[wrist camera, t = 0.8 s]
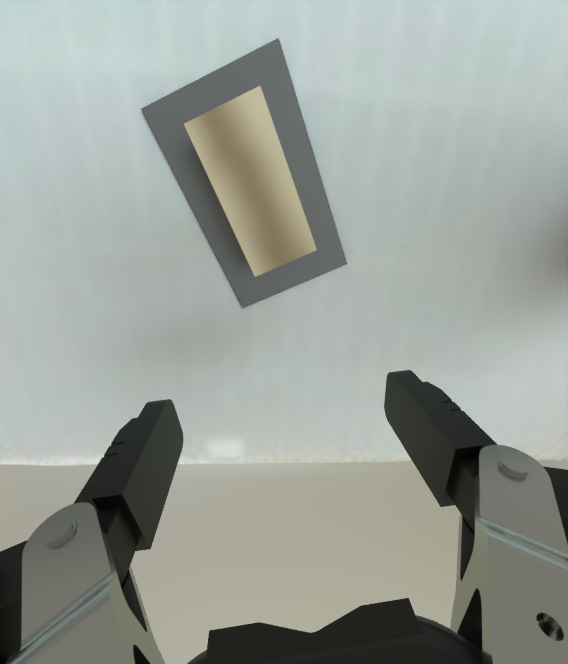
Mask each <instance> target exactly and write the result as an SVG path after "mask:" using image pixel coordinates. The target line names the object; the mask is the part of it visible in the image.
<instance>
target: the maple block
mask: <svg viewBox="0 0 568 664" xmlns="http://www.w3.org/2000/svg"><path fill="white" fill-rule="evenodd" d="M184 126H185V128H186V130H187V132H188V134H189V136H190V139H191V141H192V143H193V145H194V147H195V149H196V152H197V154H198V156H199V158H200V160H201V162H202V164H203V167H204V169H205V171H206V173H207V175H208V177H209V180H210V182H211V184H212V186H213V188H214V190H215V192H216V195H217V197H218V199H219V201H220V203H221V205H222V208H223V210H224V212H225V214H226V216H227V218H228V220H229V223H230V225H231V227H232V229H233V231H234V233H235V235H236V238H237V240H238V242H239V244H240V246H241V248H242V251H243V253H244V255H245V257H246V259H247V261H248V263H249V266H250V268H251V270H252V272H253V274H254V276H255V277H256V276H258V275H261V274H263V273H265V272H268V271H270V270H272V269H274V268H277V267H279V266H281V265H284V264H286V263H288V262H291V261H293V260H295V259H297V258H300V257H302V256H304V255H307V254H309V253H311V252H314V251H316V250H317V249H316V246H315V243H314V240H313V237H312V234H311V231H310V228H309V225H308V222H307V220H306V217H305V214H304V211H303V208H302V205H301V202H300V199H299V196H298V193H297V191H296V188H295V185H294V182H293V179H292V176H291V173H290V170H289V167H288V164H287V161H286V159H285V156H284V153H283V150H282V147H281V144H280V141H279V138H278V135H277V132H276V130H275V127H274V124H273V121H272V118H271V115H270V112H269V109H268V106H267V103H266V100H265V98H264V95H263V92H262V89H261V86H258V87H256V88H254V89H252V90H250V91H248V92H246V93H244V94H242V95H240V96H238V97H236V98H234V99H232V100H230V101H228V102H226V103H224V104H222V105H220V106H218V107H216V108H214V109H212V110H210V111H208V112H206V113H204V114H202V115H200V116H198V117H196V118H194V119H192V120H190V121H188V122H186V123H184Z"/></svg>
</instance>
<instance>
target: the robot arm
mask: <svg viewBox="0 0 568 664" xmlns="http://www.w3.org/2000/svg"><path fill="white" fill-rule="evenodd" d="M384 408H385V414H386V417H387V420H388V422H389V424H390V425H391V427H392V428H393V430H394V432H395V433H396V435H397V437H398V438H399V440H400V441H401V443H402V445H403V446H404V448H405V450H406V451H407V453H408V454H409V456H410V458H411V459H412V461H413V463H414V464H415V466H416V467H417V469H418V470H419V472H420V474H421V475H422V477H423V479H424V480H425V482H426V484H427V485H428V487H429V488H430V490H431V492H432V493H433V495H434V497H435V498H436V500H437V501H438V503H439V505H440V506H441V507H444V506H451V505H456V507H457V508H458V510H459V511H460V513H461V515H460V519H459V536H458V559H457V580H456V592H455V599H454V604H453V611H452V618H451V629H449V628H447V627H445V626H443V625H441V624H439V623H437V622H435V621H433V620H430V619H427V618H424V617H421V616H416V615H415V613H414V611H413V608H412V606H411V603H410V601H409V598H406V599H399V600H393V601H388V602H381V603H375V604H369V605H363V606H360V607H358V608H356V609H355V610H353V611H351V612H350V613H348V614H346V615H344V616H343V617H341V618H339V619H337V620H336V621H334V622H332V623H331V624H329V625H327V626H325V627H324V628H322V629H320V630H319V631H316V632H313V633H307V632H303V631H298V630H293V629H288V628H284V627H278V626H274V625H269V624H265V623H253V624H247V625H241V626H235V627H229V628H223V629H217V630H210V631H209V638H208V646H207V650H206V651H204V652H202V653H201V654H199V655H198V656H196V657H195V658H194V659H193V660H191V661H190V662H188V663H187V664H568V470H564V469H557V468H549V467H543V466H541V464H539V463H538V462H537V461H536V460H535V459H533V458H532V457H530V456H529V455H527V454H525V453H523V452H521V451H519V450H517V449H514V448H511V447H508V446H503V445H497V444H496V443H495V442H494V441H493V440H492V439H491V438H490V437H489V436H488V435H487V434H486V433H485V432H484V431H483V430H482V429H481V428H480V427H479V426H478V425H477V424H476V423H475V422H474V421H473V420H472V419H471V418H470V417H469V416H468V415H467V414H466V413H465V412H464V411H461V409H460V407H459V406H458V405H457V404H456V403H455V402H452V400H451V399H450V398H449V397H448V396H447V395H446V394H445V393H444V392H443V391H442V390H441V389H439V388H438V387H436V386H434V385H432V384H430V383H429V382H422V381H421V380H420V379H419V378H418V377H417V376H416V375H415V374H414V373H413V372H412V371H411V370H405V371H397V372H390V373H388V375H387V381H386V392H385V403H384ZM182 447H183V432H182V428H181V425H180V422H179V419H178V416H177V413H176V410H175V407H174V404H173V402H172V400H170V399H168V400H160V401H152V402H148V403H146V405H145V406H144V408H143V410H142V411H141V413H140V415H139V417H138V418H132V419H131V420H130V421H129V422H128V423H127V424H126V425H125V426H124V427H123V428H122V429H120V430H119V432H118V434H117V435H116V437H115V438H114V440H113V441H112V443H111V446H109V448H108V449H107V451H106V453H105V454H104V457H103V458H102V459H101V461H100V462H99V464H98V465H97V467H96V469H95V470H94V472H93V473H92V475H91V477H90V478H89V480H88V481H87V483H86V485H85V486H84V488H83V489H82V491H81V493H80V494H79V496H78V497H77V499H76V501H75V502H74V504H72V505H69V506H67V507H65V508H63V509H61V510H59V511H57V512H56V513H54V514H53V515H52V516H50V517H49V518H47V519H46V520H45V521H44V522H43V523H42V524H41V525H40V526H39V527H38V528H37V529H36V530H35V531H34V533H33V534H32V535H31V537H30V538H29V540H27V541H24V542H22V543H20V544H17V545H15V546H13V547H10V548H8V549H6V550H3V551H1V552H0V664H165V663H164V660H163V658H162V656H161V653H160V651H159V649H158V647H157V645H156V642H155V640H154V637H153V634H152V631H151V628H150V625H149V622H148V619H147V616H146V612H145V609H144V606H143V603H142V600H141V597H140V594H139V591H138V587H137V584H136V581H135V578H134V575H133V571H132V569H131V567H130V564H131V561H132V558H133V556H134V553H135V551H139V550H146V549H151V546H152V543H153V539H154V536H155V533H156V530H157V527H158V524H159V520H160V517H161V514H162V511H163V508H164V504H165V501H166V498H167V495H168V492H169V489H170V485H171V482H172V479H173V476H174V473H175V470H176V466H177V463H178V460H179V457H180V454H181V451H182Z"/></svg>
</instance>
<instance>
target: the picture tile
mask: <svg viewBox="0 0 568 664" xmlns="http://www.w3.org/2000/svg"><path fill="white" fill-rule="evenodd" d="M258 86H261V89H262V92H263V95H264V98H265V100H266V103H267V106H268V109H269V112H270V115H271V118H272V121H273V124H274V127H275V130H276V132H277V135H278V138H279V141H280V144H281V147H282V150H283V153H284V156H285V159H286V161H287V164H288V167H289V170H290V173H291V176H292V179H293V182H294V185H295V188H296V191H297V193H298V196H299V199H300V202H301V205H302V208H303V211H304V214H305V217H306V220H307V222H308V225H309V228H310V231H311V234H312V237H313V240H314V243H315V246H316V249H317V250H316V251H314V252H311V253H309V254H307V255H304V256H302V257H300V258H297V259H295V260H293V261H291V262H288V263H286V264H284V265H281V266H279V267H277V268H274V269H272V270H270V271H268V272H265V273H263V274H261V275H258V276H256V277H255V276H254V274H253V272H252V270H251V268H250V266H249V263H248V261H247V259H246V257H245V255H244V253H243V251H242V248H241V246H240V244H239V242H238V240H237V238H236V235H235V233H234V231H233V229H232V227H231V225H230V223H229V220H228V218H227V216H226V214H225V212H224V210H223V208H222V205H221V203H220V201H219V199H218V197H217V195H216V192H215V190H214V188H213V186H212V184H211V182H210V180H209V177H208V175H207V173H206V171H205V169H204V167H203V164H202V162H201V160H200V158H199V156H198V154H197V152H196V149H195V147H194V145H193V143H192V141H191V139H190V136H189V134H188V132H187V130H186V128H185V126H184V123H186V122H188V121H190V120H192V119H194V118H196V117H198V116H200V115H202V114H204V113H206V112H208V111H210V110H212V109H214V108H216V107H218V106H220V105H222V104H224V103H226V102H228V101H230V100H232V99H234V98H236V97H238V96H240V95H242V94H244V93H246V92H248V91H250V90H252V89H254V88H256V87H258ZM141 110H142V112H143V114H144V116H145V118H146V120H147V122H148V124H149V126H150V128H151V130H152V132H153V134H154V136H155V138H156V140H157V142H158V143H159V145H160V147H161V149H162V151H163V153H164V155H165V157H166V159H167V161H168V163H169V165H170V167H171V169H172V171H173V173H174V175H175V177H176V179H177V181H178V183H179V185H180V186H181V188H182V190H183V192H184V194H185V196H186V198H187V200H188V202H189V204H190V206H191V208H192V210H193V212H194V214H195V216H196V218H197V220H198V222H199V224H200V226H201V228H202V229H203V231H204V233H205V235H206V237H207V239H208V241H209V243H210V245H211V247H212V249H213V251H214V253H215V255H216V257H217V259H218V261H219V263H220V265H221V267H222V269H223V271H224V272H225V274H226V276H227V278H228V280H229V282H230V284H231V286H232V288H233V290H234V292H235V294H236V296H237V298H238V300H239V302H240V304H241V306H242V308H244V307H247V306H249V305H252V304H254V303H256V302H259V301H261V300H263V299H266V298H268V297H270V296H273V295H275V294H277V293H280V292H282V291H284V290H287V289H289V288H291V287H294V286H296V285H299V284H301V283H303V282H306V281H308V280H310V279H313V278H315V277H317V276H320V275H322V274H324V273H327V272H329V271H331V270H334V269H336V268H339V267H341V266H343V265H346V264H347V262H346V259H345V256H344V252H343V249H342V246H341V243H340V239H339V236H338V233H337V229H336V226H335V223H334V219H333V216H332V213H331V209H330V206H329V203H328V200H327V196H326V193H325V190H324V186H323V183H322V180H321V176H320V173H319V170H318V167H317V163H316V160H315V157H314V153H313V150H312V147H311V143H310V140H309V137H308V134H307V130H306V127H305V124H304V120H303V117H302V114H301V110H300V107H299V104H298V100H297V97H296V94H295V91H294V87H293V84H292V81H291V77H290V74H289V71H288V67H287V64H286V61H285V58H284V54H283V51H282V48H281V44H280V41H279V38H278V39H276V40H274V41H272V42H270V43H268V44H266V45H264V46H262V47H260V48H258V49H256V50H254V51H252V52H251V53H249V54H247V55H245V56H243V57H241V58H239V59H237V60H235V61H233V62H231V63H229V64H227V65H225V66H223V67H221V68H219V69H218V70H216V71H214V72H212V73H210V74H208V75H206V76H204V77H202V78H200V79H198V80H196V81H194V82H192V83H190V84H188V85H186V86H185V87H183V88H181V89H179V90H177V91H175V92H173V93H171V94H169V95H167V96H165V97H163V98H161V99H159V100H157V101H155V102H153V103H151V104H150V105H148V106H146V107H144V108H142V109H141Z"/></svg>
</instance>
